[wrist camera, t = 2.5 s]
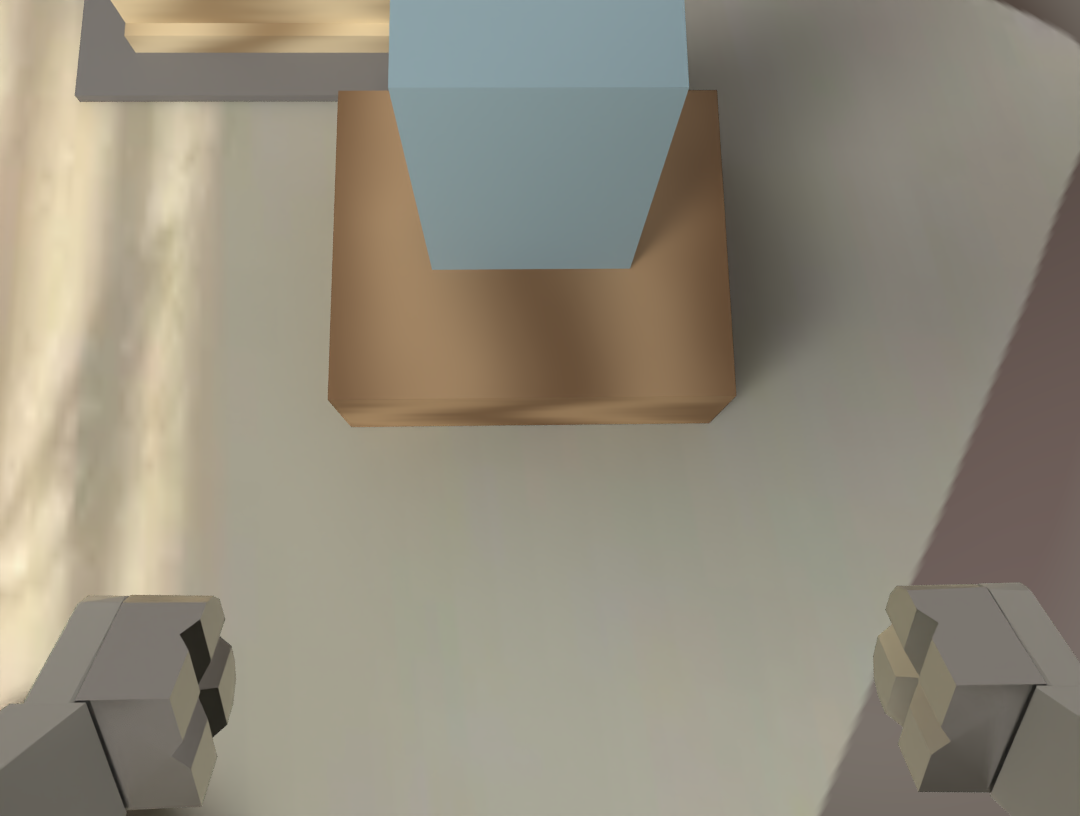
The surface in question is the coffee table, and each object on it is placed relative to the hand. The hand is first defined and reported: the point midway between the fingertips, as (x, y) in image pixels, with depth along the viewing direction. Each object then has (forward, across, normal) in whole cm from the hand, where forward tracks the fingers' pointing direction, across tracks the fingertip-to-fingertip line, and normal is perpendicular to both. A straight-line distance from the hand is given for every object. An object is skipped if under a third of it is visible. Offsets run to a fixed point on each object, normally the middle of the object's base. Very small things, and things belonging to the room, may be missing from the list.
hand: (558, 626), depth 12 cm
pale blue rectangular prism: (+19, 0, +3) cm, 19 cm away
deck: (+22, 0, +5) cm, 22 cm away
